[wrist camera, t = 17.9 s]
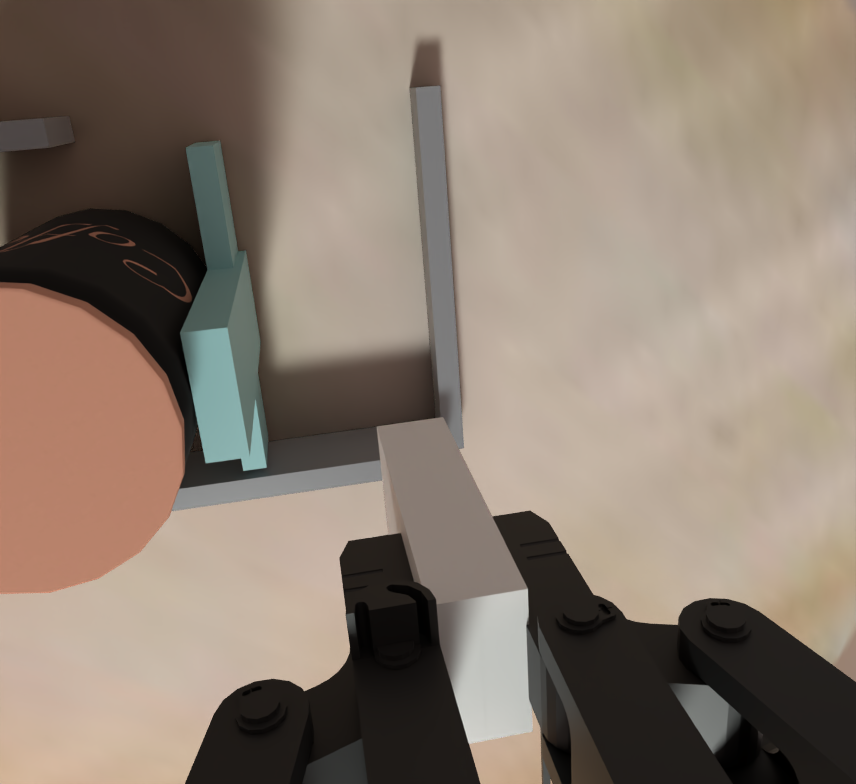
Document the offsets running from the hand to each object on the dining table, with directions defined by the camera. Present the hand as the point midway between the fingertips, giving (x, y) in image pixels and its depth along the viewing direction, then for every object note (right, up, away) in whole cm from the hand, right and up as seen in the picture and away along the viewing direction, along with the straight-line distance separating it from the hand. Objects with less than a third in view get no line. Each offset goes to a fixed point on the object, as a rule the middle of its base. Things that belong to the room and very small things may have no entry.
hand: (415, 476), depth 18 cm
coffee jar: (-16, +6, +24) cm, 29 cm away
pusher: (-10, +7, +24) cm, 27 cm away
